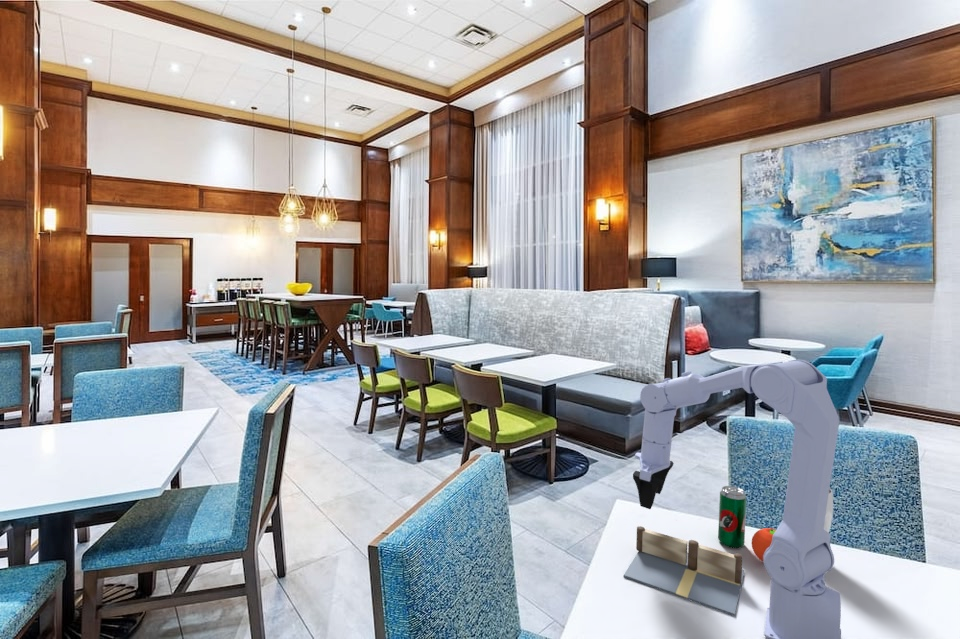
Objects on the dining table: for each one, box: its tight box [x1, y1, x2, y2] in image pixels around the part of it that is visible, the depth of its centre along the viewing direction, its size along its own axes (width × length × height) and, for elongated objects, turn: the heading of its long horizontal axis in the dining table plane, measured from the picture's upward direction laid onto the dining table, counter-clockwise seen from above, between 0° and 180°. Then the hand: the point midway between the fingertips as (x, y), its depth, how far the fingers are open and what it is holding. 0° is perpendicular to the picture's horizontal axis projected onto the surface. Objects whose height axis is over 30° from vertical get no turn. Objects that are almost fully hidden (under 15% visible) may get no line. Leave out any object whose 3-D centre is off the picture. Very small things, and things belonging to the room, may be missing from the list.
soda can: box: [717, 485, 747, 549], centre depth 103 cm, size 5×5×12 cm
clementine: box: [751, 527, 777, 563], centre depth 95 cm, size 8×7×7 cm
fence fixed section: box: [687, 539, 744, 585], centre depth 91 cm, size 9×2×5 cm, turn 55°
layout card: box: [623, 550, 745, 617], centre depth 92 cm, size 19×15×1 cm
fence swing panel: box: [635, 525, 689, 565], centre depth 97 cm, size 10×2×5 cm, turn 55°
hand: (650, 499), depth 101 cm, fingers open, 7 cm apart
